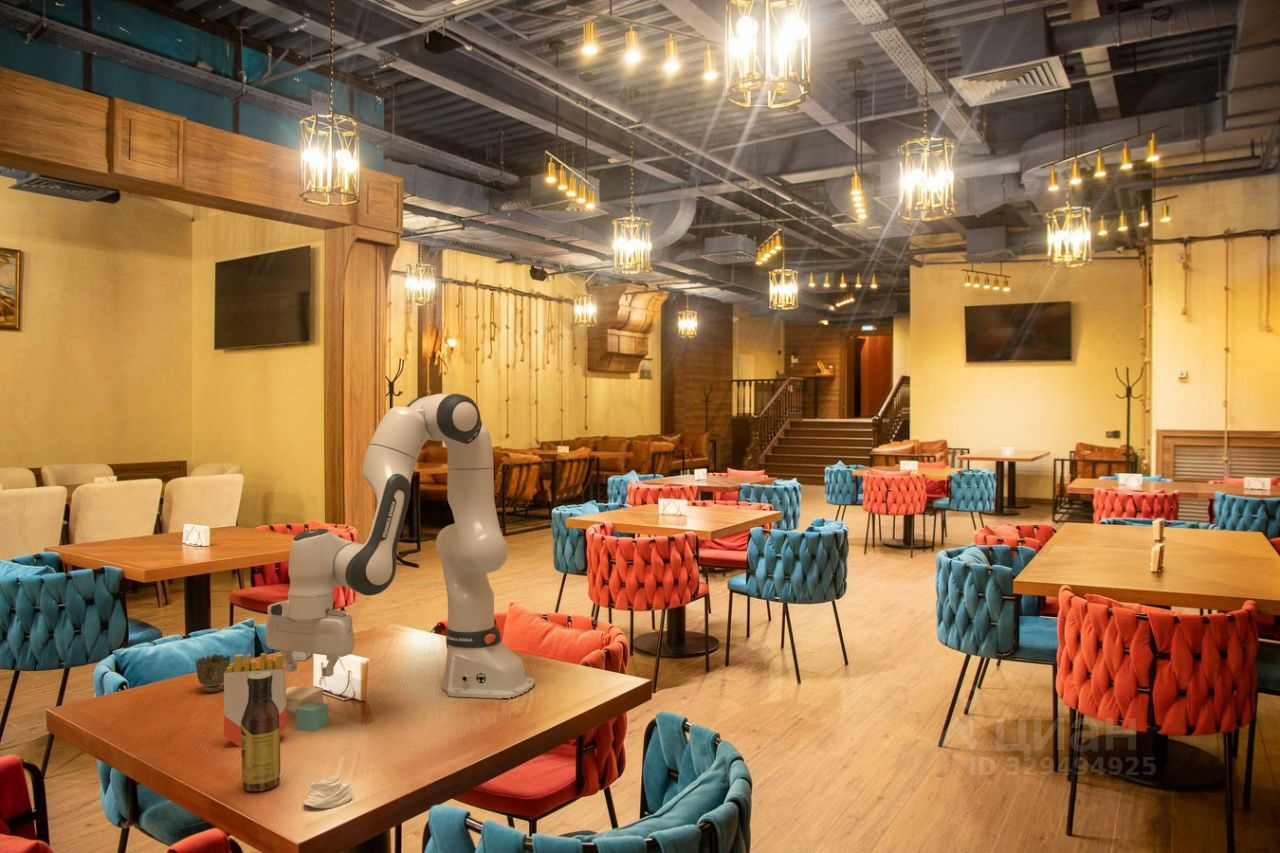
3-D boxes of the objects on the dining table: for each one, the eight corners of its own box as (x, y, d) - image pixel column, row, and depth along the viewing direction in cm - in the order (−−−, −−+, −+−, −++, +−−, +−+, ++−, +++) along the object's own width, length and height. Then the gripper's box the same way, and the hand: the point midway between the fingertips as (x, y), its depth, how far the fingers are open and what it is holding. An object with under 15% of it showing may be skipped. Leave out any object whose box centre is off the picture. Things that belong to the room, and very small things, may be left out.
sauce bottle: (249, 779, 153) (249, 668, 153) (285, 778, 154) (285, 667, 154) (235, 795, 147) (234, 679, 146) (273, 793, 147) (272, 678, 147)
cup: (188, 694, 202) (188, 660, 202) (214, 685, 209) (214, 652, 209) (211, 697, 199) (211, 663, 199) (237, 688, 206) (237, 655, 206)
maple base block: (322, 706, 194) (322, 688, 194) (301, 718, 186) (301, 699, 186) (291, 703, 195) (291, 686, 195) (269, 715, 188) (269, 697, 188)
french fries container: (229, 740, 172) (229, 651, 172) (287, 735, 175) (286, 647, 175) (224, 748, 168) (223, 657, 168) (283, 743, 170) (282, 653, 170)
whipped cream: (313, 821, 139) (313, 793, 139) (294, 805, 144) (293, 778, 143) (358, 801, 145) (358, 774, 144) (338, 787, 150) (337, 760, 149)
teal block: (327, 725, 181) (327, 704, 181) (313, 732, 177) (313, 710, 177) (310, 722, 182) (310, 701, 182) (295, 730, 178) (295, 708, 178)
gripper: (361, 608, 179) (360, 674, 179) (282, 600, 186) (281, 664, 185) (341, 614, 173) (340, 682, 173) (261, 606, 180) (259, 672, 180)
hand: (309, 673), depth 179 cm, fingers open, 8 cm apart
